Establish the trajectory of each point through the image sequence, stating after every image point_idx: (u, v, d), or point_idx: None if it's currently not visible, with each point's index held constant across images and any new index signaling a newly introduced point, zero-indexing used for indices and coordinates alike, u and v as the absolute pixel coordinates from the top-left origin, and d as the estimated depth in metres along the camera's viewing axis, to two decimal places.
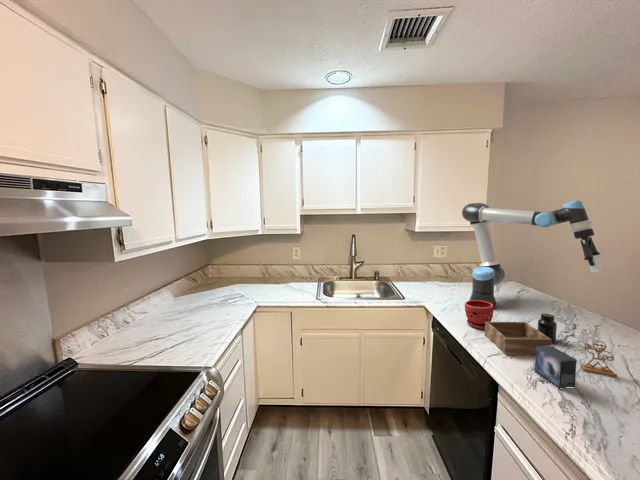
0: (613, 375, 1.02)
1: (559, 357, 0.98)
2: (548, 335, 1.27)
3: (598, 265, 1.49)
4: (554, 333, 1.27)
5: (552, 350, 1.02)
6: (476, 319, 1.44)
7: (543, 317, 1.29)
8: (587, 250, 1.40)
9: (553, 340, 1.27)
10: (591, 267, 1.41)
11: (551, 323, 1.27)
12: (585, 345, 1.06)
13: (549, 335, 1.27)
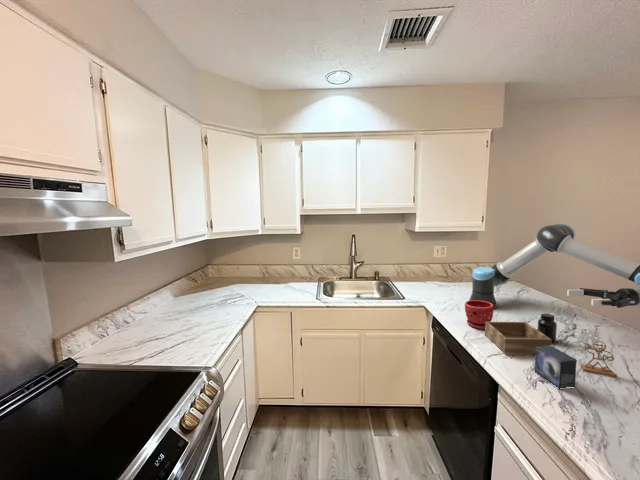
0: (613, 375, 1.02)
1: (559, 357, 0.98)
2: (548, 335, 1.27)
3: (571, 293, 1.33)
4: (554, 333, 1.27)
5: (552, 350, 1.02)
6: (476, 319, 1.44)
7: (543, 317, 1.29)
8: (625, 304, 1.17)
9: (553, 340, 1.27)
10: (599, 301, 1.19)
11: (551, 323, 1.27)
12: (585, 345, 1.06)
13: (549, 335, 1.27)
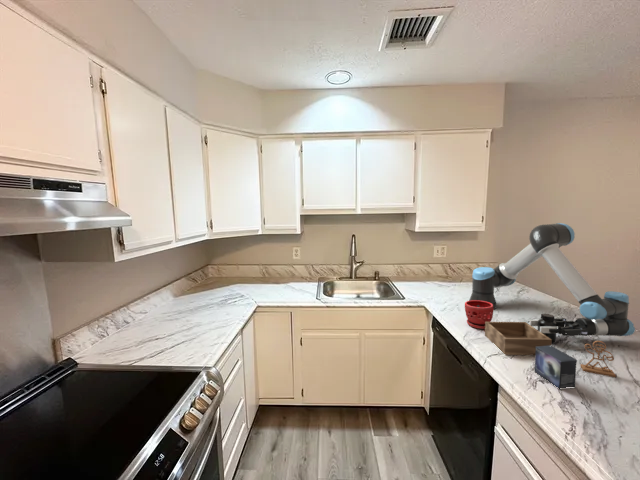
0: (613, 375, 1.02)
1: (559, 357, 0.98)
2: (548, 335, 1.27)
3: (533, 323, 1.34)
4: (554, 333, 1.27)
5: (552, 350, 1.02)
6: (476, 319, 1.44)
7: (543, 317, 1.29)
8: (572, 333, 1.23)
9: (553, 340, 1.27)
10: (546, 328, 1.26)
11: (551, 323, 1.27)
12: (585, 345, 1.06)
13: (549, 335, 1.27)
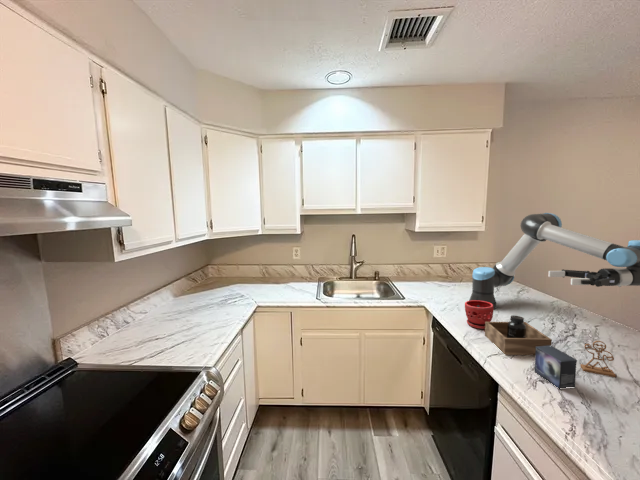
0: (613, 375, 1.02)
1: (559, 357, 0.98)
2: None
3: (552, 274, 1.31)
4: (523, 336, 1.23)
5: (552, 350, 1.02)
6: (476, 319, 1.44)
7: (512, 319, 1.25)
8: (604, 283, 1.15)
9: None
10: (578, 280, 1.17)
11: (520, 325, 1.23)
12: (585, 345, 1.06)
13: None
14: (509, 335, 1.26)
